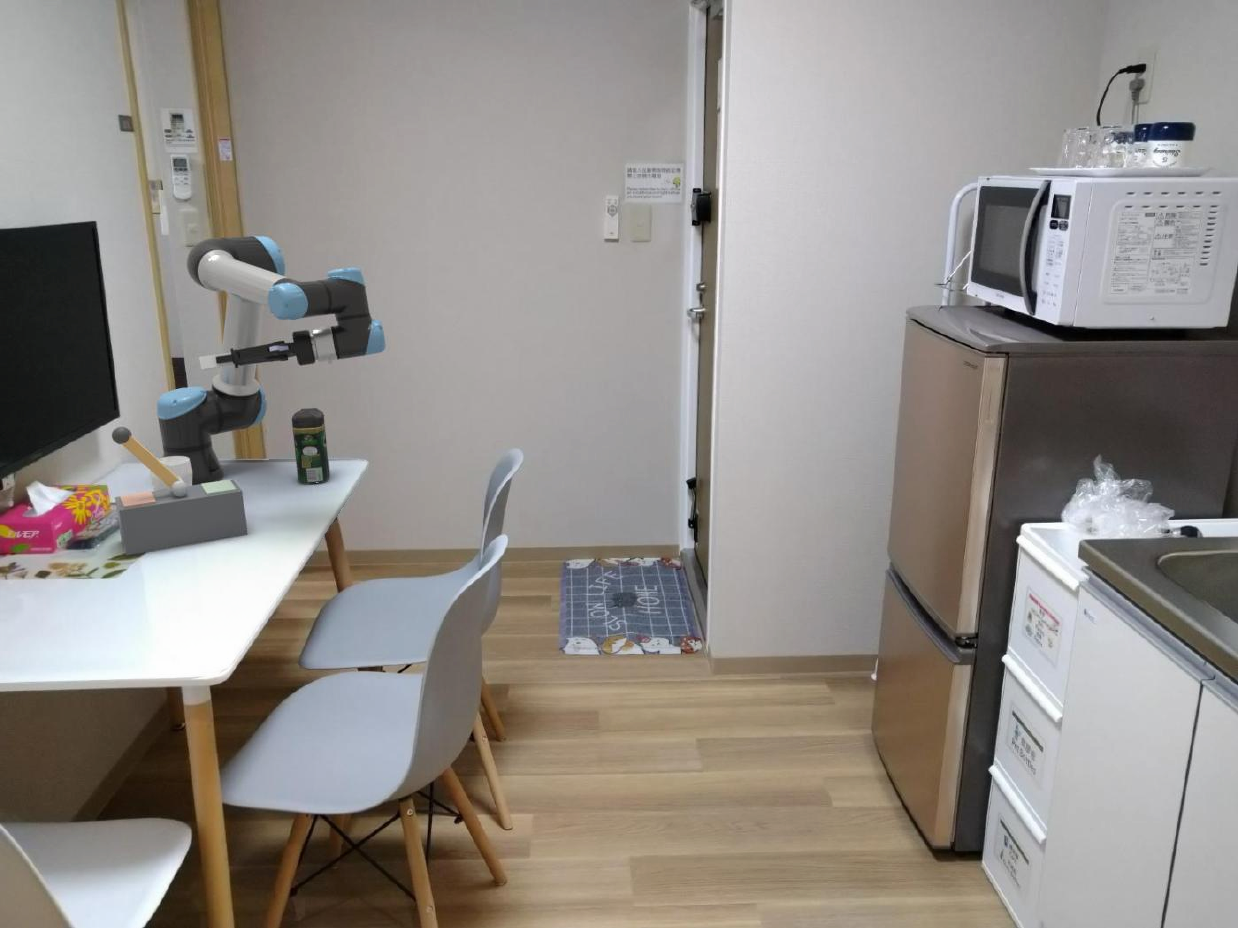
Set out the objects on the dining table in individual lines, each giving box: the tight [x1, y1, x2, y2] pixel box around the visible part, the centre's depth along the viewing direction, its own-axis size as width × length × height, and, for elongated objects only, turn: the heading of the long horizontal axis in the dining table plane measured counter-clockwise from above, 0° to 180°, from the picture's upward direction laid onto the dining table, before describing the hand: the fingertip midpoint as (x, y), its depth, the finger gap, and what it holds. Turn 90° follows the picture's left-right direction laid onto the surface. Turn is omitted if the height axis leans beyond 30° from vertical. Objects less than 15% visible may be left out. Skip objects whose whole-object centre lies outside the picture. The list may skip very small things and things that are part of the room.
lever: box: [111, 426, 188, 497], centre depth 199 cm, size 6×4×19 cm
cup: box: [149, 456, 192, 491], centre depth 223 cm, size 9×9×12 cm
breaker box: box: [114, 479, 248, 557], centre depth 205 cm, size 10×24×10 cm, turn 122°
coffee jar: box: [291, 407, 331, 484], centre depth 245 cm, size 10×8×19 cm
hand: (200, 363), depth 204 cm, fingers closed
